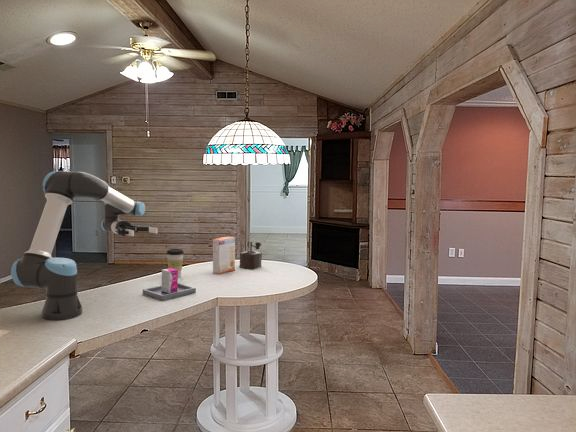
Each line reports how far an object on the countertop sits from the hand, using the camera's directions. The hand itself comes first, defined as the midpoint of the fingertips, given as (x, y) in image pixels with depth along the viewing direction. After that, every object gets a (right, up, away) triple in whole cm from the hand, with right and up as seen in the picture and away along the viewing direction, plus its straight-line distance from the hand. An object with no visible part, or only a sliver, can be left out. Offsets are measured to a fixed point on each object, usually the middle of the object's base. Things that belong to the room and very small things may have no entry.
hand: (145, 232), depth 228 cm
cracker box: (+32, -26, +50) cm, 65 cm away
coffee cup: (+6, -27, +36) cm, 45 cm away
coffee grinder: (+49, -25, +63) cm, 84 cm away
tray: (+12, -31, -1) cm, 33 cm away
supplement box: (+12, -30, -1) cm, 32 cm away
